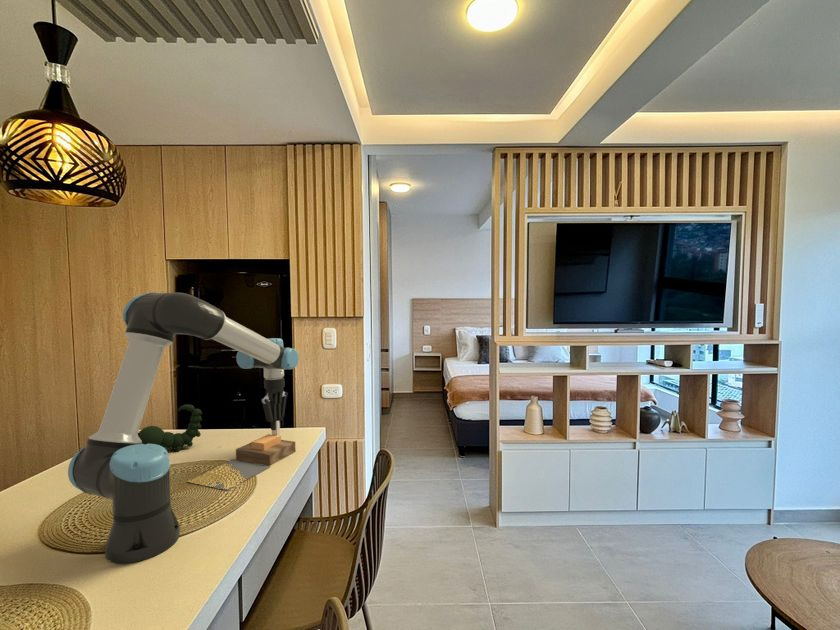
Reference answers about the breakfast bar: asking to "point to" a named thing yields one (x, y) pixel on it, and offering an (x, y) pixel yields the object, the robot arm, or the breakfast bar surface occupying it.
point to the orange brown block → (266, 442)
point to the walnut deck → (266, 453)
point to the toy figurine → (169, 439)
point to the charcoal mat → (243, 470)
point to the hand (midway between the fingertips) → (275, 437)
